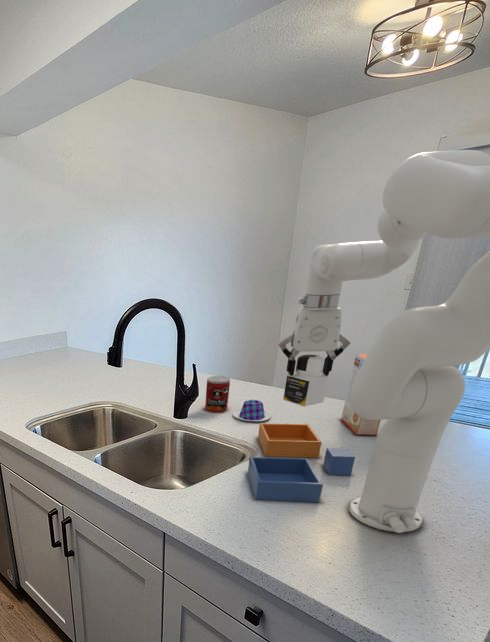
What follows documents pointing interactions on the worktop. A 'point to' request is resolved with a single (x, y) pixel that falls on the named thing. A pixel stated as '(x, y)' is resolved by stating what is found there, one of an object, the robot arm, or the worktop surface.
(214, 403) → the canned food
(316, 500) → the blue bin
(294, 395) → the medicine bottle
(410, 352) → the robot arm
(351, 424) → the cracker box
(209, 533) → the worktop surface
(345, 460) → the blue block
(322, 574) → the worktop surface
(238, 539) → the worktop surface
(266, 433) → the amber bin
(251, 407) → the pudding
